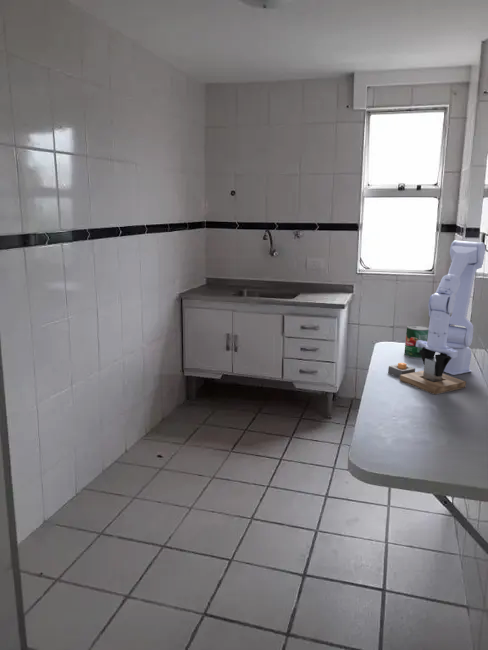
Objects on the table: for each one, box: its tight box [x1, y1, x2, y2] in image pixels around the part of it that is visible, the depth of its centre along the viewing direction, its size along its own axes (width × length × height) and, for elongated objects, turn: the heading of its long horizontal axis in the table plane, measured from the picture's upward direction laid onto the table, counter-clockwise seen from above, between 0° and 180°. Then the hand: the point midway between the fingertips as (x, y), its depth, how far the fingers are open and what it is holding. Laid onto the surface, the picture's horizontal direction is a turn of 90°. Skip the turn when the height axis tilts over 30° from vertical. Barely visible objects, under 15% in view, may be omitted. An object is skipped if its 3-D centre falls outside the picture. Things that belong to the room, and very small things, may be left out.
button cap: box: [397, 362, 408, 369], centre depth 183 cm, size 3×3×2 cm
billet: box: [423, 356, 442, 382], centre depth 174 cm, size 4×4×7 cm
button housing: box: [387, 364, 416, 378], centre depth 183 cm, size 6×6×2 cm
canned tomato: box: [403, 324, 429, 360], centre depth 206 cm, size 8×8×11 cm
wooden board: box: [399, 370, 467, 395], centre depth 174 cm, size 14×14×2 cm
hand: (433, 374), depth 174 cm, fingers closed on billet, 4 cm apart
